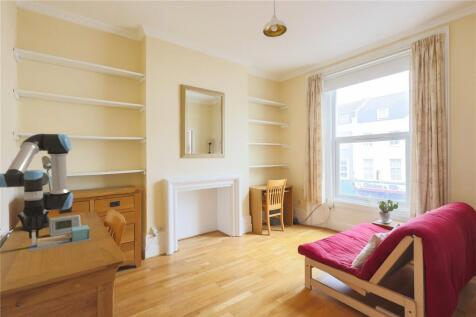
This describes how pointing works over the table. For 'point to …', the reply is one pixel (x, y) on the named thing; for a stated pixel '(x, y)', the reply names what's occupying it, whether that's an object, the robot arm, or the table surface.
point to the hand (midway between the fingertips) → (33, 243)
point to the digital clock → (63, 225)
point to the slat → (53, 240)
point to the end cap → (80, 233)
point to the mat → (34, 246)
